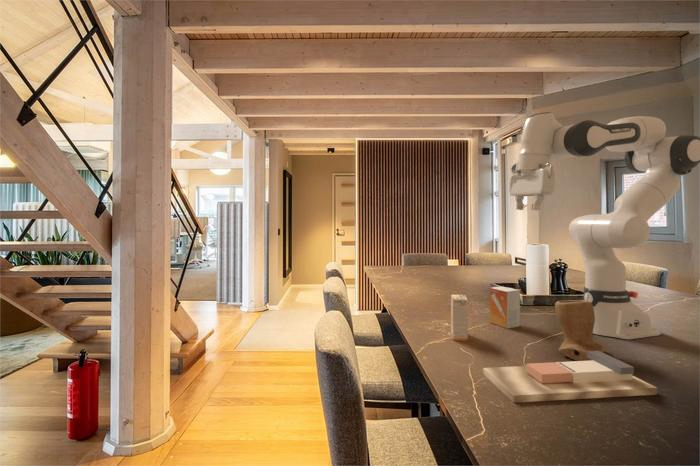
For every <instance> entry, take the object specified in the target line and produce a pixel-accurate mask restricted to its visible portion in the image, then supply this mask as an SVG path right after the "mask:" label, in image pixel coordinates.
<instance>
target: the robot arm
mask: <svg viewBox="0 0 700 466" xmlns="http://www.w3.org/2000/svg"><path fill="white" fill-rule="evenodd" d="M666 133H667V126H666V123H665V122H664V121H663V120H662V119H661V118H659V117H655V116H648V115H647V116H645V115H644V116H642V115H639V116H638V115H637V116H629V117H621V118H618V119H616V120H612V121H610V122H609V123H607V124H604V123H600V122H598V121H595V120H591V119H590V120H589V119H588V120H582V121H581V122H577V123H573V124H571V125H568V126H564V125H562V124H561V123H560V122H558V120H557V119H556V118H555V115H554V113H552V112H547V111H546V112H540V113H535V114H531V115H529V116H528V117H527V118H526V120H525V123H524V124H523V128H522V133H521V140H520V144H521V150H520V152H519V154H518V160H517V161H516V162H515V163H514V164H513V165H511V167H510V173H511V175H510V178H509V186H508V187H509V188H508V189H509V190H508V192H509V195H510V197H511V196H512V197H514V198H515V199H514V200H515V205H516V206H515V207H516V208H515V210H517V211H523V210H524V209H525V207H524V206H525V204H524V202H523V201H524V198H525V197H534V201H533V203H532V204H531V208H530V209H531V210H532V211H540V209H541V205H542V203H543V201H544V199H545V196H552V194H553V193H554V192H555V191H554V190H555V181H556V180H555V179H556V176H555V175H556V174H555V171H554V166H553V165H552V163H551V160H556V161H557V160H565V159H571V158H579V157H590V156H594V155H595V154H597V153H599V152H601V150H603V149H604V148H605V149H606V150H607V151H608V152H613V153H624V160H623V161H624V164H625V166H626V167H627V169H628V170H629V171H631V172H635V173H640V174H641V173H643V174H644V175H643V176H642V178H641V179H639V180H637V181H636V182H635V183H634V184H633V185H631V186H630V187H628V189H627V190H624V192H622V193H621V194H620V195H619V196H618V197H617V198H616V199H615V201H614V210H613V211H611V212H608V213H602V214H601V213H600V214H598V213H597V214H595V213H594V214H586V215H581V216H578V217H575V218H574V219H572V221H571V222H570V223H569V225H568V234H569V237H570V239H571V240H572V241H573V242H574V243H575V244H576V245H577V247H578V249H579V251H580V253H581V256H582V259H583V264H584V278H585V279H584V281H585V284H584V287H583V300H587V301H589V302H591V303H592V305H593V308H594V315H595V323H594V328H593V334H594V335H599V336H603V337H612V338H618V339H621V340H634V339H640V338H641V339H643V338H649V337H657V336H661V331H660V330H658V329H657V328H654V327H652V322H651V317H650V316H649V314H648V313H647V312H646V311H644V310H643V309H641V307H639V306H637V305H636V304H635V303H634V302H633V301H632V300H631V299H632V298H633V299H637V298H638V297H639V293H638V292H637V291H633V290H630V291H628V290H627V287H626V285H627V280H626V279H627V268H626V266H625V264H624V263H623V262H622V261H621V260H619V258H618V257H617V256H616V254H615V252H614V249H620V250H621V249H622V250H623V249H633V248H638V247H641V246H642V245H645V243H646V242H647V241H648V239H649V237H650V234H651V233H650V232H651V229H650V228H651V227H650V225H649V224H648V221H649V219H650V218H652V217H653V215H655V214H656V213H657V212H658V211H660V210H661V209H662V208H663V207H664V206H665V205H666V204H668V202H670V201H671V199H672V198H673V197H674V196H675V195H676V193H677V192H678V190H679V189H680V187H681V180H680V176H685V175H687V174H689V173H691V172H692V170H693V169H694V168H696V167H697V166H698V165H699V164H700V136H697V135H691V134H689V135H688V134H682V135H681V134H680V135H678V136H669V137H667V136H666Z"/></svg>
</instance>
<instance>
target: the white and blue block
mask: <svg viewBox="0 0 700 466" xmlns="http://www.w3.org/2000/svg"><path fill="white" fill-rule="evenodd" d="M587 357H588V358H590V359H592V360H591V361H577V360H573V361H556V362H555V363H557V364H558V365H560V366H561V367H563V368H565V369H566V370H568V371H570V372H571V373H572V383H583V382H602V381H621V380H632V375H634V374H635V366H633V365H630V364H628V363H626V362H624V361H622V360H621V359H618V358H615V357H613V356H612V355H609V354H606V353H605V352H600V351H587Z"/></svg>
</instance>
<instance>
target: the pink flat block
mask: <svg viewBox="0 0 700 466" xmlns="http://www.w3.org/2000/svg"><path fill="white" fill-rule="evenodd" d="M525 366H526V372H527V373H528V374H530V375H531V376H532V377H534V378H535V379H536V380H538V381H539V382H541V383H558V382H572V373H571V372H570V371H568V370H566V369H565V368H563V367H561V366H560V365H558V364H557V363H556V362H535V363H534V362H533V363H532V362H531V363H526V365H525Z"/></svg>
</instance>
